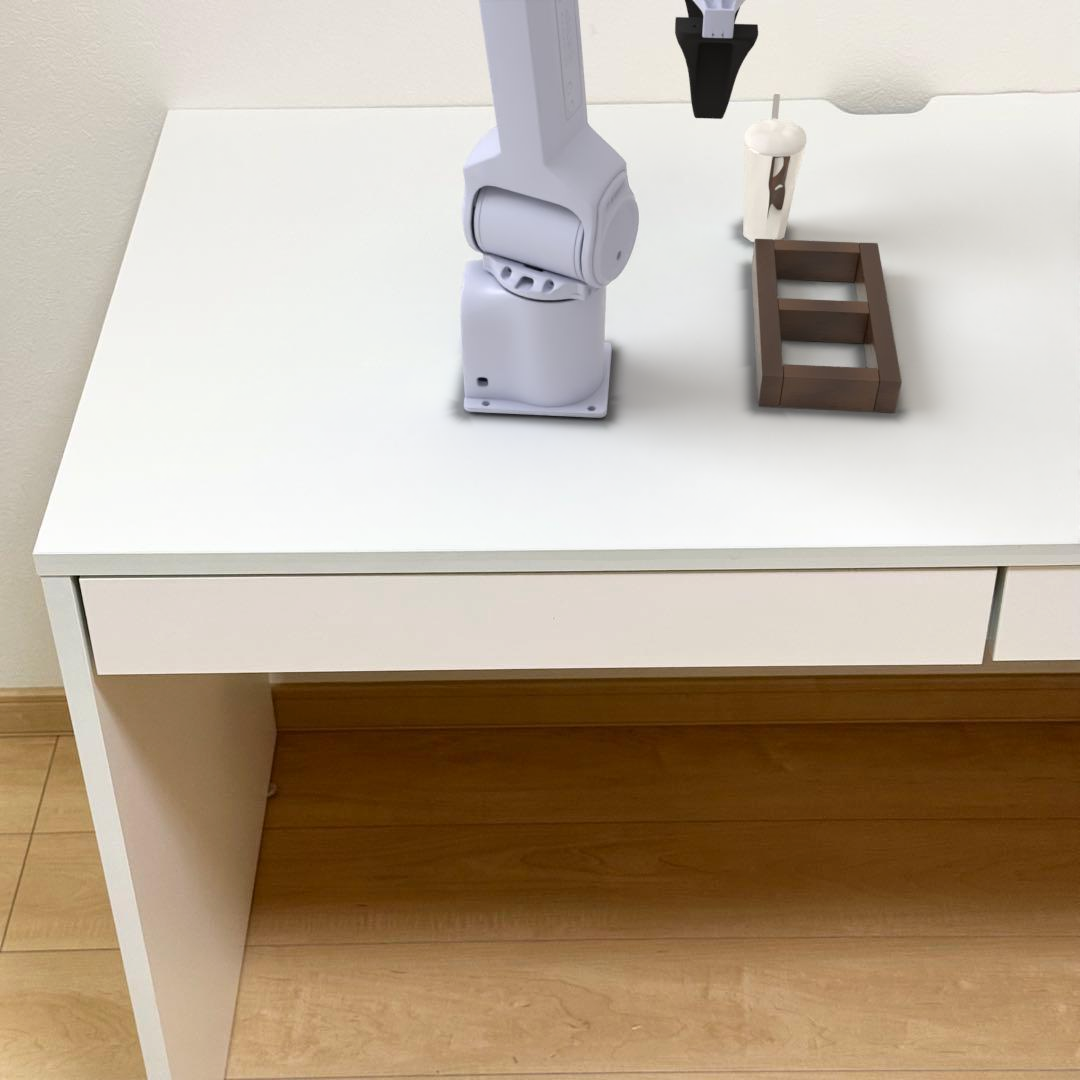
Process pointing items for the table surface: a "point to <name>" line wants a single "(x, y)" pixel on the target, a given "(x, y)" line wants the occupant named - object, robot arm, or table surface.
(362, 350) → the table surface
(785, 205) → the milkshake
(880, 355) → the rack
